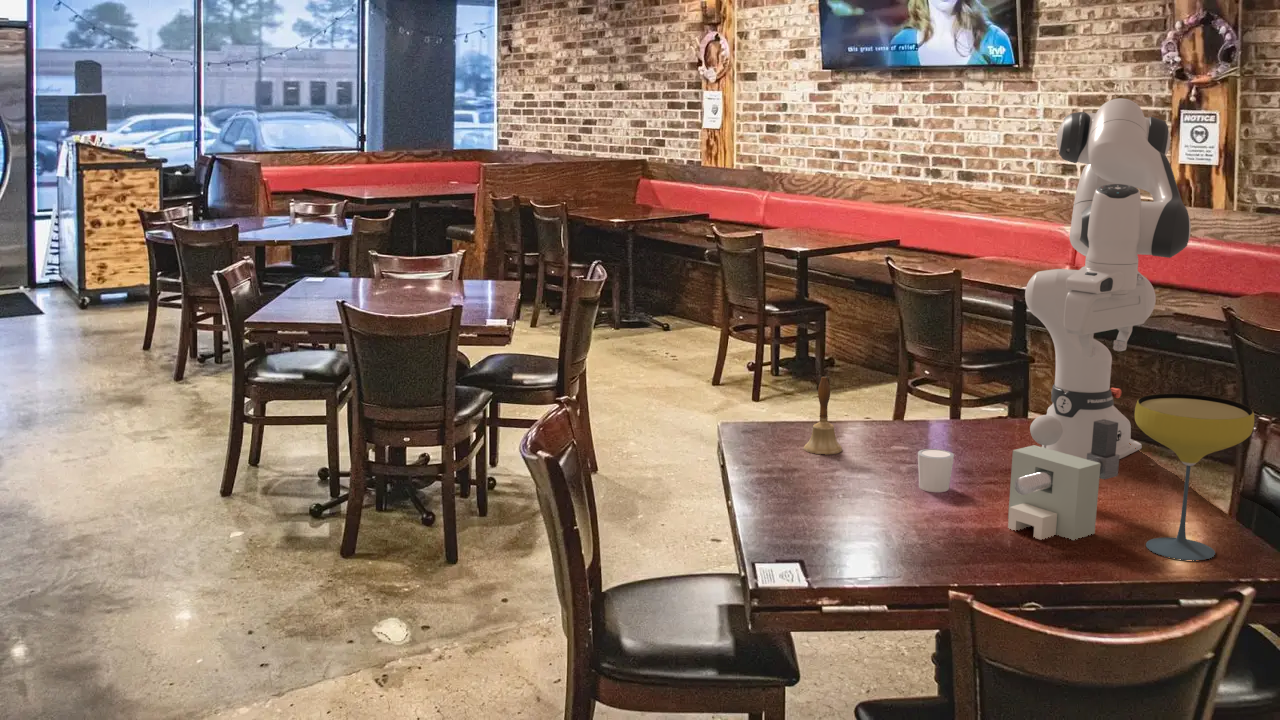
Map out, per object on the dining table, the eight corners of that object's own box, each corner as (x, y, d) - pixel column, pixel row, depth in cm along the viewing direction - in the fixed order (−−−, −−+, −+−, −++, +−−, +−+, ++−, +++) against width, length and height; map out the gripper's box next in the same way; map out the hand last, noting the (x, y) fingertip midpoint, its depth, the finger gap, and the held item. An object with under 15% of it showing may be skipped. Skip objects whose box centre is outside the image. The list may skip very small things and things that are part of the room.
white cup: (952, 494, 242) (954, 459, 241) (916, 492, 244) (917, 456, 242) (951, 483, 249) (953, 449, 248) (915, 481, 250) (917, 447, 249)
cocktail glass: (1257, 570, 204) (1275, 420, 199) (1144, 568, 205) (1158, 418, 200) (1213, 532, 222) (1227, 394, 217) (1108, 530, 223) (1120, 392, 218)
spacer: (1022, 524, 226) (1024, 503, 225) (1055, 535, 220) (1057, 513, 219) (1007, 528, 224) (1009, 507, 223) (1041, 540, 218) (1042, 517, 217)
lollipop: (1018, 487, 247) (1024, 412, 244) (1043, 484, 249) (1048, 410, 246) (1040, 496, 241) (1046, 420, 238) (1064, 493, 243) (1070, 417, 240)
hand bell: (802, 453, 269) (805, 380, 266) (804, 443, 277) (806, 372, 274) (842, 456, 268) (845, 382, 264) (842, 445, 276) (845, 373, 272)
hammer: (1098, 470, 234) (1103, 418, 232) (1117, 475, 231) (1122, 422, 229) (1011, 494, 220) (1015, 438, 218) (1030, 500, 217) (1034, 443, 215)
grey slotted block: (1029, 512, 232) (1034, 445, 229) (1094, 533, 221) (1100, 463, 218) (1008, 518, 229) (1012, 450, 226) (1073, 540, 218) (1079, 468, 215)
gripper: (1128, 270, 233) (1122, 343, 236) (1060, 280, 222) (1054, 357, 225) (1160, 274, 229) (1153, 349, 232) (1091, 284, 217) (1085, 363, 220)
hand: (1104, 353), depth 228 cm, fingers open, 8 cm apart
